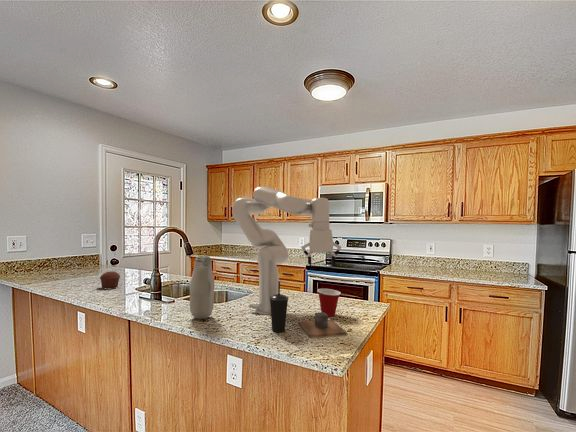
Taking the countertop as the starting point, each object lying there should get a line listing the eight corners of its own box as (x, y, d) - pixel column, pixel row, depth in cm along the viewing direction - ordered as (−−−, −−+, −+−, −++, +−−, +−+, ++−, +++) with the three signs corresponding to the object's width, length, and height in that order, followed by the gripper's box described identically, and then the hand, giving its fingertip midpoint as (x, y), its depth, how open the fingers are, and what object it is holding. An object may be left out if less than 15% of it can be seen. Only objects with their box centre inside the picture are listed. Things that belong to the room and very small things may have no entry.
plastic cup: (340, 321, 131) (340, 294, 131) (315, 319, 133) (316, 292, 134) (340, 314, 142) (341, 288, 142) (318, 312, 144) (318, 287, 144)
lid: (308, 337, 110) (309, 321, 110) (297, 324, 124) (298, 309, 124) (346, 334, 113) (346, 318, 113) (331, 321, 128) (331, 307, 128)
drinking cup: (272, 337, 111) (273, 283, 112) (266, 330, 118) (266, 280, 119) (291, 334, 115) (292, 282, 115) (283, 328, 122) (284, 279, 122)
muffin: (107, 290, 184) (108, 273, 184) (94, 288, 188) (95, 272, 188) (124, 286, 195) (124, 271, 195) (112, 285, 199) (112, 270, 199)
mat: (308, 340, 109) (308, 338, 109) (296, 325, 124) (296, 323, 125) (348, 337, 113) (348, 335, 113) (332, 323, 128) (332, 321, 128)
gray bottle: (184, 320, 130) (186, 255, 130) (199, 313, 139) (201, 253, 140) (203, 323, 126) (204, 257, 127) (217, 316, 136) (218, 254, 136)
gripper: (300, 226, 127) (301, 267, 126) (341, 225, 125) (342, 266, 124) (301, 226, 134) (302, 264, 133) (340, 226, 133) (340, 264, 132)
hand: (321, 265), depth 129 cm, fingers open, 9 cm apart
